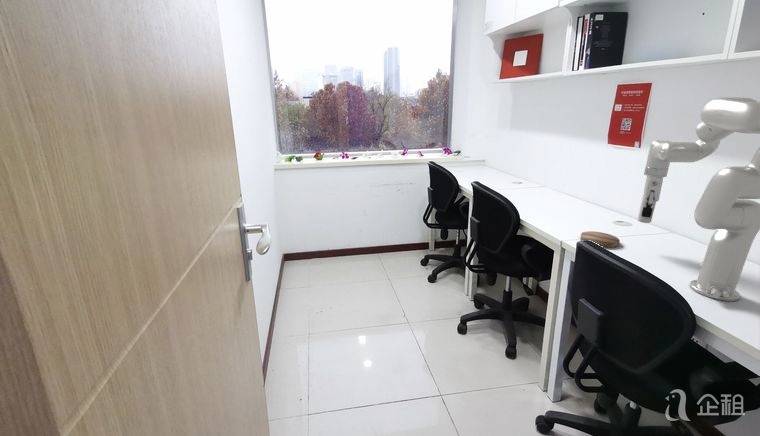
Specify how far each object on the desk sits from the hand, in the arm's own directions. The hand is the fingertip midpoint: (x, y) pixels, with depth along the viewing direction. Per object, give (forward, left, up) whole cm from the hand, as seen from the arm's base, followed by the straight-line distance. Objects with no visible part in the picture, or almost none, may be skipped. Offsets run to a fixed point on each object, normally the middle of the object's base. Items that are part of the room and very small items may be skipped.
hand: (645, 214), depth 154 cm
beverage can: (0, 0, -3) cm, 3 cm away
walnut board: (-2, +14, -15) cm, 21 cm away
